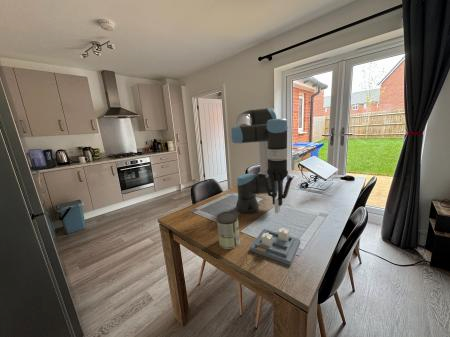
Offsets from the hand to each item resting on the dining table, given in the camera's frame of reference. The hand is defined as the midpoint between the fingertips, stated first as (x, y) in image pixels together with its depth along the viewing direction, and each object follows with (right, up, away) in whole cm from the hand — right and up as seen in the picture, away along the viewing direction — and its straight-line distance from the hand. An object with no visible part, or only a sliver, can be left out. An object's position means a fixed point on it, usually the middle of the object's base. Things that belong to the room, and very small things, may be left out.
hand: (277, 211), depth 79 cm
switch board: (0, -17, +4) cm, 18 cm away
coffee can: (-21, -18, +10) cm, 29 cm away
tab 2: (+4, -15, +5) cm, 16 cm away
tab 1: (-4, -16, +3) cm, 17 cm away
